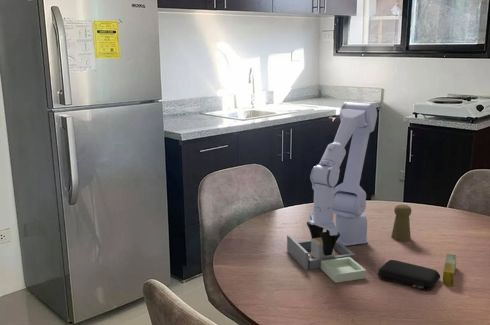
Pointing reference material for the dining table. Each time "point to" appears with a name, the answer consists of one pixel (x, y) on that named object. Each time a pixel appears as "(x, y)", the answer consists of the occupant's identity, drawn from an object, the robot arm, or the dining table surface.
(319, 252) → the block
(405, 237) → the cork
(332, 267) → the bay
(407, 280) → the carrying case or bag
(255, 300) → the dining table surface
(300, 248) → the case
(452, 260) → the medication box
